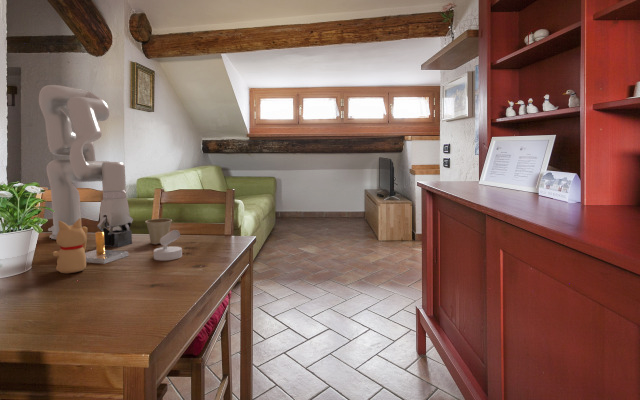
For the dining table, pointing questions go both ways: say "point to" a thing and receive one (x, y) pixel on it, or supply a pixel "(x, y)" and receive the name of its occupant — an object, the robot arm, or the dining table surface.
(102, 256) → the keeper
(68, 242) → the figurine
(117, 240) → the grey square box
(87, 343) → the dining table surface
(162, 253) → the wall hook
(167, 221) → the flower pot
